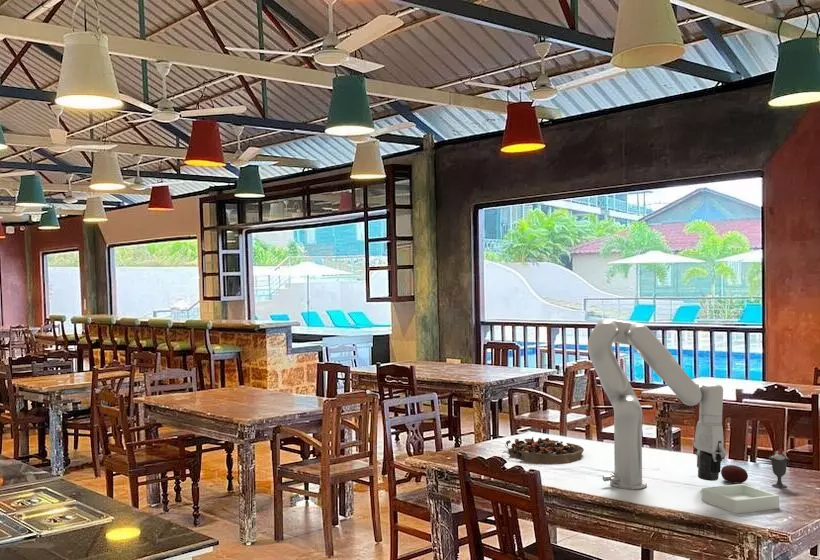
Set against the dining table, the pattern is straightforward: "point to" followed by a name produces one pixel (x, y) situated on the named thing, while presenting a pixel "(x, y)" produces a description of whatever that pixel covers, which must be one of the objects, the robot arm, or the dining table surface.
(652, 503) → the dining table surface
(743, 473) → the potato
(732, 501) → the tray
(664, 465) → the dining table surface
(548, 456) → the food dish
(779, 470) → the sundae
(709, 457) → the supplement bottle
